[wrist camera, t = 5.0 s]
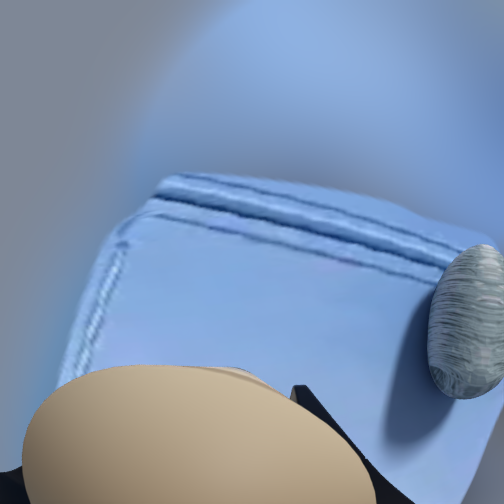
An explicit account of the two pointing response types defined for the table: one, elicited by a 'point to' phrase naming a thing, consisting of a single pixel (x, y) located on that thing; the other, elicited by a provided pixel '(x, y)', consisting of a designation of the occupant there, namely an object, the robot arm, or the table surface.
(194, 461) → the peg
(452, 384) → the grey streaked oval stone
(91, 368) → the table surface
